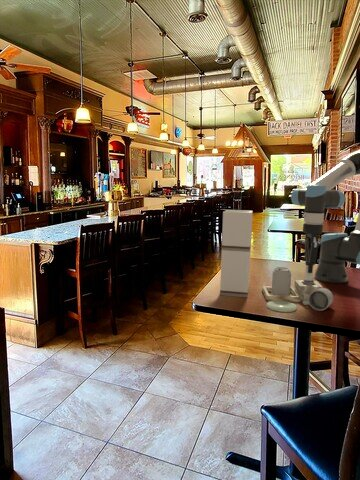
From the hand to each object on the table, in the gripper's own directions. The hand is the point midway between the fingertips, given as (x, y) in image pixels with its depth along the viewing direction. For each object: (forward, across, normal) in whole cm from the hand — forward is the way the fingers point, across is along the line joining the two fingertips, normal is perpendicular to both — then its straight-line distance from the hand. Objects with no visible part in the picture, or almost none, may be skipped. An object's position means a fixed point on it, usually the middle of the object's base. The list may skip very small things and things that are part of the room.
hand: (308, 280), depth 151 cm
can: (+8, 0, -11) cm, 13 cm away
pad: (+8, +14, -13) cm, 20 cm away
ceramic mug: (+8, +12, +1) cm, 14 cm away
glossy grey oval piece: (+5, 0, 0) cm, 5 cm away
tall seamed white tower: (+8, -2, -30) cm, 31 cm away
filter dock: (+7, 0, -6) cm, 10 cm away
